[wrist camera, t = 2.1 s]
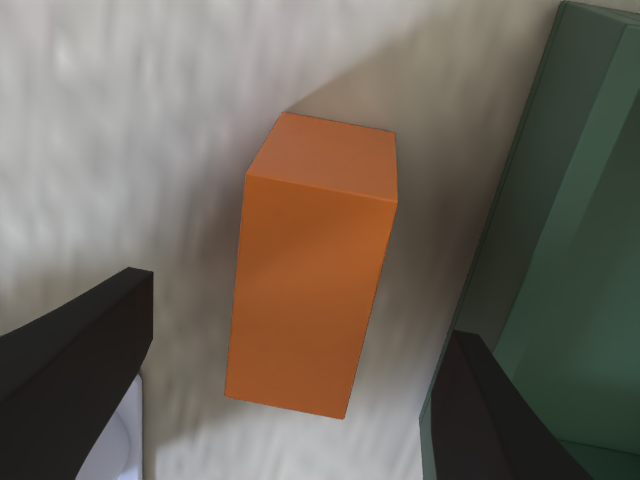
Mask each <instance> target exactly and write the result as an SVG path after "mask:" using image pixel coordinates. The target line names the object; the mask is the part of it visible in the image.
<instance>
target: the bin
mask: <svg viewBox="0 0 640 480" xmlns="http://www.w3.org/2000/svg"><path fill="white" fill-rule="evenodd" d="M453 329H454V330H459V331H464V332H469V333H475V334H479V335H480V337H481V338H482V340H483V341H484V343H485V344H486V346H487V347H488V349H489V350H490V352H491V353H492V355H493V356H494V358H495V359H496V360H497V362H498V363H499V365H500V366H501V368H502V369H503V371H504V372H505V374H506V375H507V376H508V378H509V379H510V381H511V382H512V383H513V385H514V386H515V388H516V389H517V390H518V392H519V393H520V394H521V396H522V397H523V398H524V400H525V401H526V402H527V404H528V405H529V406H530V408H531V409H532V410H533V411H534V413H535V414H536V415H537V416H538V418H539V419H540V420H541V421H542V423H543V424H544V425H545V426H546V427H547V429H548V430H549V431H550V432H551V433H552V435H553V436H554V437H555V438H556V439H557V440H558V441H559V443H560V444H561V445H562V446H563V447H564V448H565V449H566V450H567V451H568V452H569V453H570V454H571V456H572V457H573V458H574V459H575V460H576V461H577V462H578V463H579V464H580V465H581V466H582V467H583V468H584V469H585V470H586V471H587V472H588V473H589V474H590V475H591V476H592V477H593V478H594V479H595V480H640V14H638V13H632V12H627V11H621V10H616V9H610V8H604V7H599V6H593V5H588V4H582V3H577V2H571V1H566V0H564V1H562V2H561V5H560V8H559V10H558V13H557V16H556V19H555V22H554V25H553V28H552V31H551V34H550V37H549V40H548V43H547V46H546V48H545V51H544V54H543V57H542V60H541V63H540V66H539V69H538V72H537V75H536V78H535V81H534V84H533V86H532V89H531V92H530V95H529V98H528V101H527V104H526V107H525V110H524V113H523V116H522V119H521V121H520V124H519V127H518V130H517V133H516V136H515V139H514V142H513V145H512V148H511V151H510V154H509V157H508V159H507V162H506V165H505V168H504V171H503V174H502V177H501V180H500V183H499V186H498V189H497V192H496V195H495V197H494V200H493V203H492V206H491V209H490V212H489V215H488V218H487V221H486V224H485V227H484V230H483V232H482V235H481V238H480V241H479V244H478V247H477V250H476V253H475V256H474V259H473V262H472V265H471V268H470V270H469V273H468V276H467V279H466V282H465V285H464V288H463V291H462V294H461V297H460V300H459V303H458V306H457V308H456V311H455V314H454V317H453V320H452V323H451V326H450V329H449V332H448V335H447V338H446V341H445V344H444V346H443V349H442V352H441V355H440V358H439V361H438V364H437V367H436V370H435V373H434V376H433V379H432V381H431V384H430V387H429V390H428V393H427V396H426V399H425V402H424V405H423V408H422V411H421V414H420V417H419V425H420V438H421V453H422V468H423V480H437V478H436V470H435V462H434V454H433V446H432V438H431V391H432V388H433V385H434V382H435V379H436V377H437V374H438V371H439V368H440V365H441V362H442V359H443V356H444V354H445V351H446V348H447V345H448V342H449V339H450V336H451V333H452V331H453Z"/></svg>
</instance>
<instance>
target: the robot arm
mask: <svg viewBox="0 0 640 480" xmlns="http://www.w3.org/2000/svg"><path fill="white" fill-rule="evenodd" d="M153 273H154V272H152V271H147V270H141V269H136V268H131V267H128V268H126V269H124V270H122V271H121V272H119V273H117V274H115V275H114V276H112V277H110V278H109V279H107V280H105V281H104V282H102V283H100V284H99V285H97V286H95V287H94V288H92V289H90V290H89V291H87V292H85V293H83V294H82V295H80V296H78V297H77V298H75V299H73V300H71V301H70V302H68V303H66V304H64V305H63V306H61V307H59V308H57V309H55V310H53V311H51V312H50V313H48V314H46V315H44V316H42V317H40V318H38V319H36V320H34V321H32V322H30V323H28V324H26V325H24V326H23V327H21V328H18V329H16V330H14V331H12V332H10V333H8V334H5V335H3V336H1V337H0V480H143V478H142V379H141V377H140V376H139V375H138V372H139V369H140V367H141V365H142V363H143V361H144V359H145V356H146V354H147V351H148V349H149V347H150V344H151V342H152V340H153ZM431 438H432V446H433V454H434V462H435V470H436V478H437V480H595V479H594V478H593V477H592V476H591V475H590V474H589V473H588V472H587V471H586V470H585V469H584V468H583V467H582V466H581V465H580V464H579V463H578V462H577V461H576V460H575V459H574V458H573V457H572V456H571V454H570V453H569V452H568V451H567V450H566V449H565V448H564V447H563V446H562V445H561V444H560V443H559V441H558V440H557V439H556V438H555V437H554V436H553V435H552V433H551V432H550V431H549V430H548V429H547V427H546V426H545V425H544V424H543V423H542V421H541V420H540V419H539V418H538V416H537V415H536V414H535V413H534V411H533V410H532V409H531V408H530V406H529V405H528V404H527V402H526V401H525V400H524V398H523V397H522V396H521V394H520V393H519V392H518V390H517V389H516V388H515V386H514V385H513V383H512V382H511V381H510V379H509V378H508V376H507V375H506V374H505V372H504V371H503V369H502V368H501V366H500V365H499V363H498V362H497V360H496V359H495V358H494V356H493V355H492V353H491V352H490V350H489V349H488V347H487V346H486V344H485V343H484V341H483V340H482V338H481V337H480V335H479V334H475V333H469V332H464V331H459V330H454V329H453V331H452V333H451V336H450V339H449V342H448V345H447V348H446V351H445V354H444V356H443V359H442V362H441V365H440V368H439V371H438V374H437V377H436V379H435V382H434V385H433V388H432V391H431Z"/></svg>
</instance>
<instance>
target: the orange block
mask: <svg viewBox="0 0 640 480" xmlns="http://www.w3.org/2000/svg"><path fill="white" fill-rule="evenodd" d="M397 206H398V183H397V160H396V137H395V133H394V132H389V131H384V130H378V129H373V128H367V127H362V126H357V125H351V124H346V123H340V122H335V121H330V120H324V119H319V118H313V117H308V116H303V115H297V114H292V113H286V112H282V113H281V115H280V117H279V118H278V120H277V122H276V123H275V125H274V127H273V128H272V130H271V132H270V133H269V135H268V137H267V138H266V140H265V142H264V143H263V145H262V147H261V148H260V150H259V152H258V154H257V155H256V157H255V159H254V160H253V162H252V164H251V165H250V167H249V169H248V170H247V172H246V174H245V183H244V194H243V204H242V214H241V225H240V235H239V246H238V256H237V266H236V277H235V287H234V298H233V308H232V318H231V329H230V339H229V349H228V360H227V370H226V381H225V391H224V396H225V397H228V398H233V399H238V400H243V401H248V402H254V403H259V404H264V405H269V406H274V407H279V408H284V409H290V410H295V411H300V412H305V413H310V414H315V415H321V416H326V417H331V418H336V419H341V420H343V419H344V418H345V414H346V410H347V406H348V402H349V398H350V394H351V390H352V386H353V382H354V378H355V374H356V370H357V366H358V362H359V358H360V354H361V350H362V346H363V342H364V338H365V334H366V330H367V326H368V322H369V318H370V314H371V310H372V306H373V302H374V298H375V294H376V290H377V286H378V282H379V278H380V274H381V270H382V266H383V262H384V258H385V254H386V250H387V246H388V242H389V238H390V234H391V230H392V226H393V222H394V218H395V214H396V210H397Z"/></svg>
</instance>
